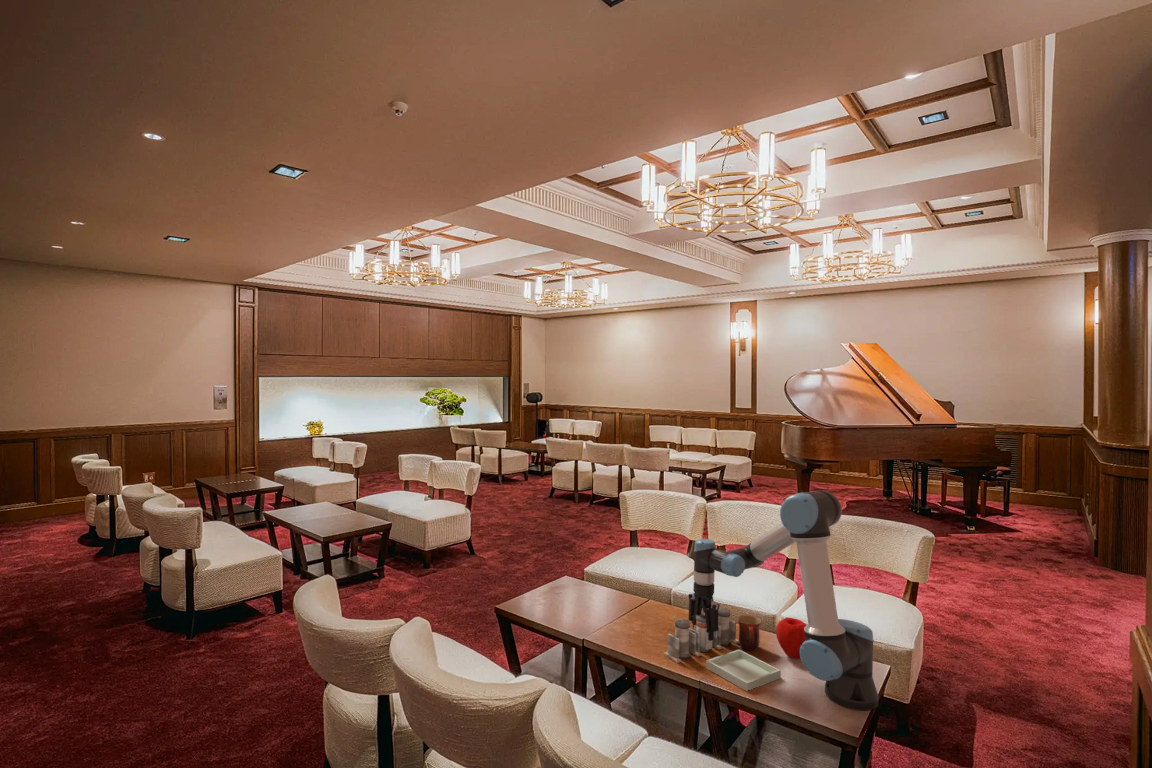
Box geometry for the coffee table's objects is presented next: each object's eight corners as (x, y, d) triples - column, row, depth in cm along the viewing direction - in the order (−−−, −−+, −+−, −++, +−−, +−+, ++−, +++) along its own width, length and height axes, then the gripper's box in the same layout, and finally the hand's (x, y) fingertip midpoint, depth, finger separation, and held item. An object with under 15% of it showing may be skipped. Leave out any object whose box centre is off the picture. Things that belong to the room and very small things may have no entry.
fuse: (713, 649, 208) (713, 617, 208) (702, 653, 205) (703, 620, 205) (702, 644, 212) (703, 612, 212) (692, 647, 209) (692, 614, 210)
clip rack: (739, 642, 214) (740, 611, 214) (677, 663, 197) (677, 628, 197) (725, 635, 220) (726, 604, 220) (663, 655, 203) (664, 621, 203)
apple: (768, 650, 208) (769, 614, 208) (796, 647, 211) (797, 611, 211) (788, 665, 197) (789, 627, 197) (817, 662, 200) (818, 624, 200)
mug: (735, 640, 216) (736, 613, 216) (759, 643, 214) (760, 616, 214) (738, 655, 204) (739, 626, 204) (763, 657, 202) (764, 629, 203)
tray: (780, 678, 188) (780, 670, 188) (747, 691, 179) (747, 683, 179) (738, 656, 203) (739, 649, 203) (706, 668, 194) (706, 660, 194)
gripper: (730, 588, 203) (728, 652, 203) (693, 573, 219) (692, 633, 218) (715, 591, 199) (714, 657, 199) (679, 576, 215) (677, 638, 214)
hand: (702, 645), depth 209 cm, fingers closed on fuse, 5 cm apart
